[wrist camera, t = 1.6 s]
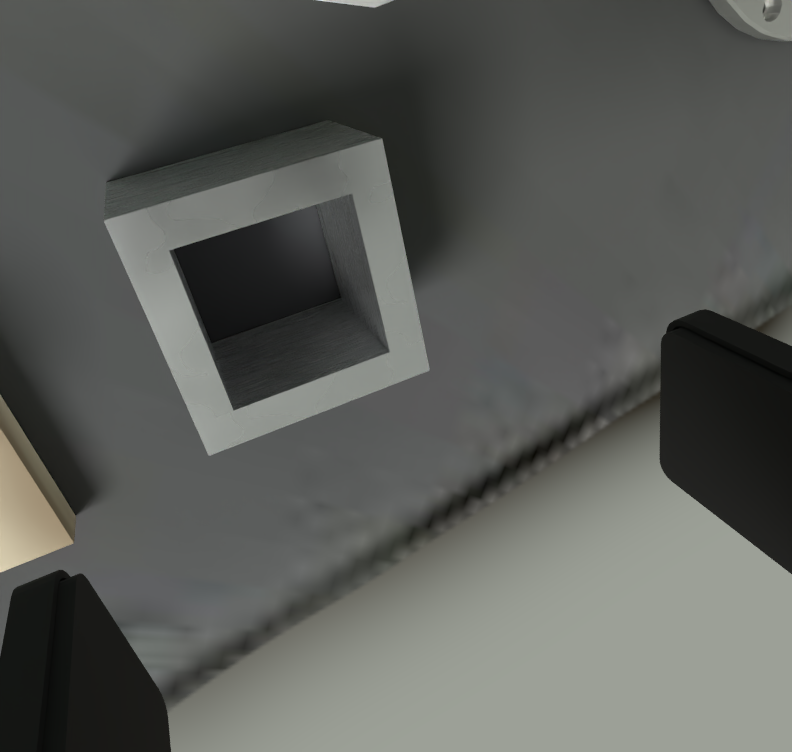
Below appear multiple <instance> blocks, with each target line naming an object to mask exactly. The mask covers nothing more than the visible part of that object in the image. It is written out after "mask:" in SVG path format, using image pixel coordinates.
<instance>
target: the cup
mask: <svg viewBox="0 0 792 752" xmlns="http://www.w3.org/2000/svg"><path fill="white" fill-rule="evenodd" d="M318 1H326V2H334V3H342V4H350V5H359V6H367V7H378V6H380V5H383V4H386V3H389V2H391V1H394V0H318Z"/></svg>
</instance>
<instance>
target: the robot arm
mask: <svg viewBox="0 0 792 752" xmlns="http://www.w3.org/2000/svg"><path fill="white" fill-rule="evenodd" d="M709 1H710V2H711V4H712V5H713V7H714V8H715V10H716V11H717V12H718V14H720V15H721V16H722V17H723V18H724V19H725V20H727V21H728V22H729V23H730V24H731V25H732V26H734V27H735V28H736V29H737V30H739V31H742V32H744V33H746V34H748V35H751V36H753V37H755V38H757V39H764V40H773V41H792V0H709ZM660 396H661V397H660V398H661V399H660V464H661V467H662V469H663V471H664V473H665V474H666V476H667V477H668V478H669V479H670V480H671V481H672V482H673V483H675V484H676V485H677V486H679V487H680V488H681V489H683V490H684V491H685V492H686V493H688V494H689V495H690V496H691V497H693V498H694V499H696V500H697V501H698V502H699V503H700V504H702V505H703V506H704V507H706V508H707V509H708V510H710V511H711V512H712V513H713V514H715V515H716V516H717V517H719V518H720V519H721V520H723V521H724V522H725V523H726V524H728V525H729V526H730V527H731V528H733V529H734V530H735V531H737V532H738V533H739V534H741V535H742V536H743V537H745V538H746V539H747V540H748V541H750V542H751V543H752V544H753V545H755V546H756V547H758V548H759V549H760V550H761V551H763V552H764V553H765V554H766V555H768V556H769V557H770V558H772V559H773V560H774V561H775V562H777V563H778V564H779V565H781V566H782V567H783V568H785V569H786V570H787V571H788V572H790V573H791V574H792V346H790V345H788V344H786V343H783V342H781V341H779V340H776V339H774V338H772V337H770V336H767V335H765V334H763V333H761V332H758V331H756V330H754V329H751V328H749V327H747V326H745V325H742V324H740V323H738V322H735V321H733V320H731V319H729V318H726V317H724V316H722V315H720V314H717V313H715V312H713V311H710V310H706V309H705V310H699V311H697V312H694V313H692V314H689V315H687V316H684V317H682V318H679V319H677V320H675V321H673V322H671V323H670V324H669V326H668V328H667V331H666V334H665V335H664V336H663V338H662V341H661V395H660ZM0 752H171V747H170V735H169V725H168V715H167V710H166V706H165V702H164V699H163V697H162V694H161V693H160V691H159V689H158V687H157V686H156V684H155V683H154V681H153V680H152V678H151V677H150V675H149V673H148V672H147V670H146V669H145V667H144V666H143V664H142V663H141V661H140V660H139V658H138V656H137V655H136V653H135V652H134V650H133V649H132V647H131V646H130V644H129V643H128V641H127V640H126V638H125V636H124V635H123V633H122V632H121V630H120V629H119V627H118V626H117V624H116V623H115V621H114V619H113V618H112V616H111V615H110V613H109V612H108V610H107V609H106V607H105V606H104V604H103V602H102V601H101V599H100V598H99V596H98V595H97V593H96V592H95V590H94V589H93V587H92V585H91V584H90V582H89V581H88V579H87V578H86V577H85V576H84V575H83V574H77V575H75V576H72V577H70V576H69V575H68V574H67V573H66V572H65V571H63V570H58V571H55V572H53V573H50V574H48V575H46V576H43V577H41V578H38V579H36V580H33V581H31V582H28V583H26V584H23V585H21V586H18V587H17V588H15V589H14V590H13V593H12V596H11V601H10V607H9V612H8V618H7V623H6V629H5V634H4V639H3V645H2V650H1V656H0Z"/></svg>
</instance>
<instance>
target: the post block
mask: <svg viewBox="0 0 792 752" xmlns="http://www.w3.org/2000/svg"><path fill="white" fill-rule="evenodd" d="M75 523H76V516H75V514H74V512H73V511H72V509H71V508H70V506H69V504H68V503H67V501H66V500H65V498H64V496H63V495H62V493H61V491H60V490H59V488H58V487H57V485H56V483H55V482H54V480H53V479H52V477H51V475H50V474H49V472H48V470H47V469H46V467H45V466H44V464H43V462H42V461H41V459H40V458H39V456H38V454H37V453H36V451H35V450H34V448H33V446H32V445H31V443H30V441H29V440H28V438H27V437H26V435H25V433H24V432H23V430H22V429H21V427H20V425H19V424H18V422H17V420H16V419H15V417H14V416H13V414H12V412H11V411H10V409H9V408H8V406H7V404H6V403H5V401H4V399H3V398H2V396H1V395H0V572H3V571H5V570H8V569H10V568H13V567H15V566H18V565H20V564H23V563H25V562H28V561H30V560H33V559H35V558H38V557H40V556H43V555H45V554H48V553H50V552H53V551H55V550H58V549H60V548H63V547H65V546H68V545H70V544H73V543H74V536H75Z"/></svg>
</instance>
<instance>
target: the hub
mask: <svg viewBox="0 0 792 752" xmlns="http://www.w3.org/2000/svg"><path fill="white" fill-rule="evenodd" d="M313 205H316V208H317V212H318V215H319V219H320V223H321V226H322V230H323V234H324V238H325V241H326V245H327V249H328V252H329V256H330V260H331V263H332V267H333V271H334V275H335V278H336V282H337V286H338V289H339V293H340V297H341V298H339V299H336V300H333V301H330V302H327V303H325V304H322V305H319V306H316V307H313V308H310V309H307V310H304V311H302V312H299V313H296V314H293V315H290V316H287V317H284V318H282V319H279V320H276V321H273V322H270V323H267V324H264V325H261V326H259V327H256V328H253V329H250V330H247V331H244V332H241V333H238V334H236V335H233V336H230V337H227V338H224V339H221V340H218V341H216V342H213V343H211V341H210V339H209V336H208V334H207V331H206V329H205V326H204V324H203V321H202V319H201V316H200V314H199V311H198V309H197V306H196V304H195V301H194V299H193V296H192V294H191V291H190V289H189V286H188V284H187V281H186V279H185V276H184V274H183V271H182V269H181V266H180V264H179V261H178V259H177V256H176V254H175V251H174V249H175V248H179V247H182V246H185V245H188V244H192V243H195V242H198V241H201V240H204V239H208V238H211V237H214V236H217V235H220V234H224V233H227V232H230V231H233V230H236V229H240V228H243V227H246V226H249V225H252V224H256V223H259V222H262V221H265V220H268V219H272V218H275V217H278V216H281V215H285V214H288V213H291V212H294V211H297V210H301V209H304V208H307V207H310V206H313ZM104 222H105V224H106V227H107V229H108V231H109V233H110V236H111V238H112V240H113V242H114V244H115V247H116V249H117V251H118V253H119V256H120V258H121V260H122V262H123V265H124V267H125V269H126V271H127V274H128V276H129V278H130V280H131V283H132V285H133V287H134V289H135V291H136V294H137V296H138V298H139V300H140V303H141V305H142V307H143V309H144V312H145V314H146V316H147V318H148V321H149V323H150V325H151V327H152V330H153V332H154V334H155V336H156V338H157V341H158V343H159V345H160V347H161V350H162V352H163V354H164V356H165V359H166V361H167V363H168V365H169V368H170V370H171V372H172V374H173V377H174V379H175V381H176V383H177V385H178V388H179V390H180V392H181V394H182V397H183V399H184V401H185V403H186V406H187V408H188V410H189V412H190V415H191V417H192V419H193V421H194V424H195V426H196V428H197V430H198V432H199V435H200V437H201V439H202V441H203V444H204V446H205V448H206V450H207V453H208V455H209V456H210V455H212V454H215V453H218V452H220V451H223V450H225V449H228V448H231V447H233V446H236V445H238V444H241V443H243V442H246V441H249V440H251V439H254V438H256V437H259V436H262V435H264V434H267V433H269V432H272V431H274V430H277V429H280V428H282V427H285V426H287V425H290V424H293V423H295V422H298V421H300V420H303V419H305V418H308V417H311V416H313V415H316V414H318V413H321V412H324V411H326V410H329V409H331V408H334V407H336V406H339V405H342V404H344V403H347V402H349V401H352V400H354V399H357V398H360V397H362V396H365V395H367V394H370V393H373V392H375V391H378V390H380V389H383V388H385V387H388V386H391V385H393V384H396V383H398V382H401V381H404V380H406V379H409V378H411V377H414V376H416V375H419V374H422V373H424V372H427V371H429V370H430V369H429V364H428V360H427V355H426V350H425V345H424V340H423V335H422V330H421V325H420V321H419V316H418V311H417V306H416V301H415V296H414V291H413V286H412V281H411V277H410V272H409V267H408V262H407V257H406V252H405V247H404V242H403V238H402V233H401V228H400V223H399V218H398V213H397V208H396V203H395V198H394V194H393V189H392V184H391V179H390V174H389V169H388V164H387V159H386V155H385V150H384V145H383V140H382V138H380V137H377V136H374V135H371V134H368V133H365V132H362V131H359V130H356V129H353V128H350V127H347V126H344V125H341V124H339V123H336V122H333V121H330V120H326V121H322V122H319V123H315V124H312V125H308V126H305V127H301V128H298V129H294V130H290V131H287V132H283V133H280V134H276V135H273V136H269V137H266V138H262V139H259V140H255V141H252V142H248V143H244V144H241V145H237V146H234V147H230V148H227V149H223V150H220V151H216V152H213V153H209V154H206V155H202V156H198V157H195V158H191V159H188V160H184V161H181V162H177V163H174V164H170V165H167V166H163V167H160V168H156V169H152V170H149V171H145V172H142V173H138V174H135V175H131V176H128V177H124V178H121V179H117V180H114V181H110V182H106V188H105V207H104Z"/></svg>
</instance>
